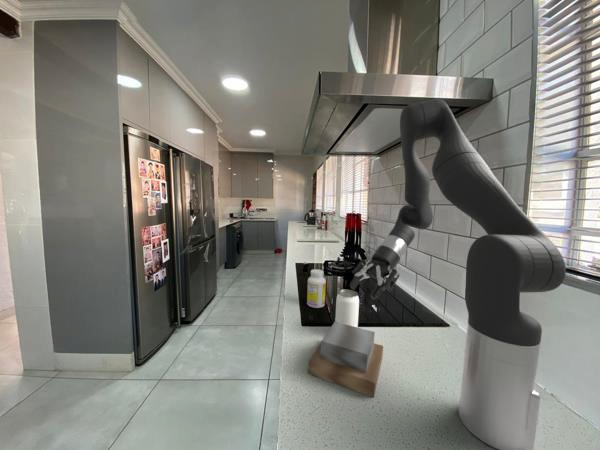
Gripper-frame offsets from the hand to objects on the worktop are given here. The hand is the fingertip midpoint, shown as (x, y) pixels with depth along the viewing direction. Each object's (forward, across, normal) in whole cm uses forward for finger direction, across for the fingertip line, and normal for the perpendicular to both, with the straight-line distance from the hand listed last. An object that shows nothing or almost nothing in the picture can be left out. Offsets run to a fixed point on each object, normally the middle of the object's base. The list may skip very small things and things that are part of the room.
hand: (361, 292), depth 72 cm
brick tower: (+18, +11, -2) cm, 22 cm away
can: (+12, 0, +4) cm, 13 cm away
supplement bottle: (+10, -20, +7) cm, 23 cm away
